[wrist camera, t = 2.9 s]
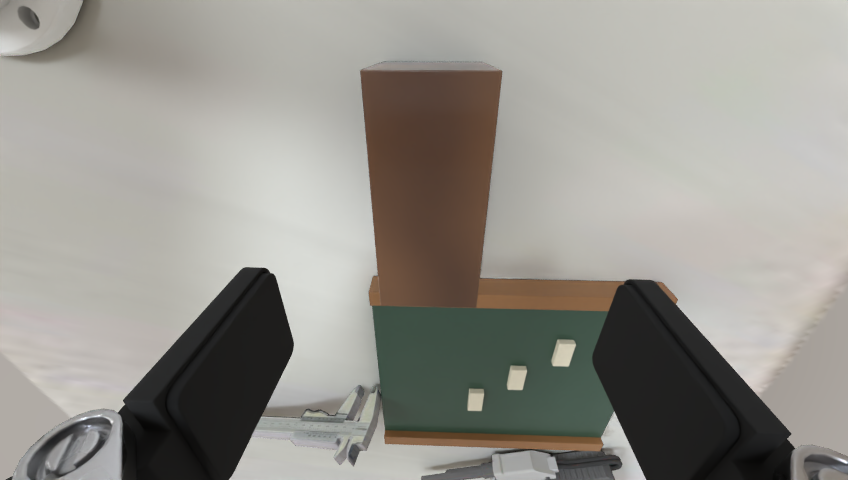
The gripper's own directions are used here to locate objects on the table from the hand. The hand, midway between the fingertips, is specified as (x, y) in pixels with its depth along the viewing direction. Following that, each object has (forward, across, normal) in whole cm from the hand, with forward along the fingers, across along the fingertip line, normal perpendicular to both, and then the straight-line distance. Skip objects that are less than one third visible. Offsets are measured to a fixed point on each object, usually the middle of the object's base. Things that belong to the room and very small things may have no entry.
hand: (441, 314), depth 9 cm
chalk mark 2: (+11, -6, +16) cm, 20 cm away
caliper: (+12, +15, +23) cm, 30 cm away
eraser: (+12, +1, 0) cm, 12 cm away
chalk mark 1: (+11, -3, +19) cm, 22 cm away
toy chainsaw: (+12, -9, +33) cm, 37 cm away
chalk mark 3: (+11, -9, +13) cm, 19 cm away
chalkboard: (+12, -5, +17) cm, 21 cm away
